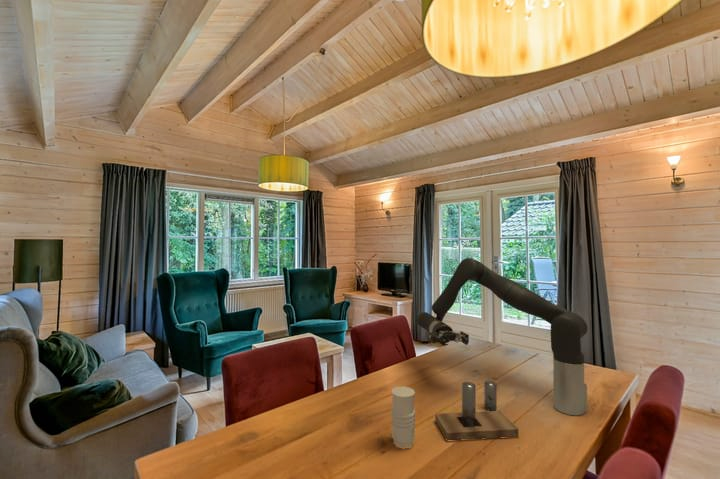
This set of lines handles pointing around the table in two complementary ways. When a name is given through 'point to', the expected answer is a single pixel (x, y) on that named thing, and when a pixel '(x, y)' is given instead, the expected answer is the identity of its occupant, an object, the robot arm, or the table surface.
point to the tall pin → (468, 404)
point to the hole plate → (486, 422)
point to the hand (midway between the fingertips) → (455, 342)
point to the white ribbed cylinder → (403, 416)
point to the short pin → (490, 395)
